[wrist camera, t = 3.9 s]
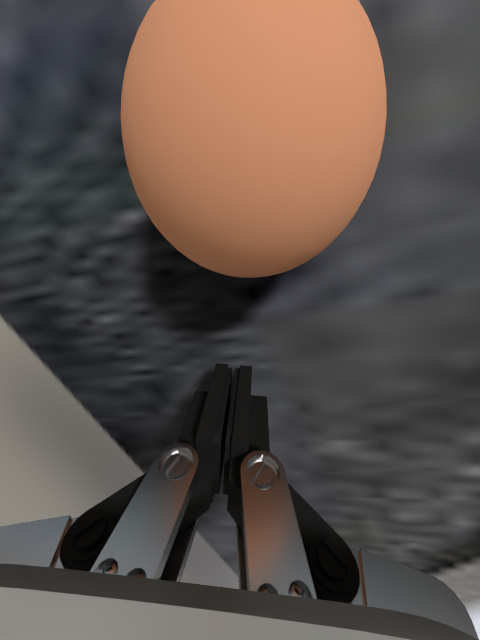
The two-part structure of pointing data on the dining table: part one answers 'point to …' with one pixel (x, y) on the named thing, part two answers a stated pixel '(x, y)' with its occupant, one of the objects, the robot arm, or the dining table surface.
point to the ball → (253, 127)
